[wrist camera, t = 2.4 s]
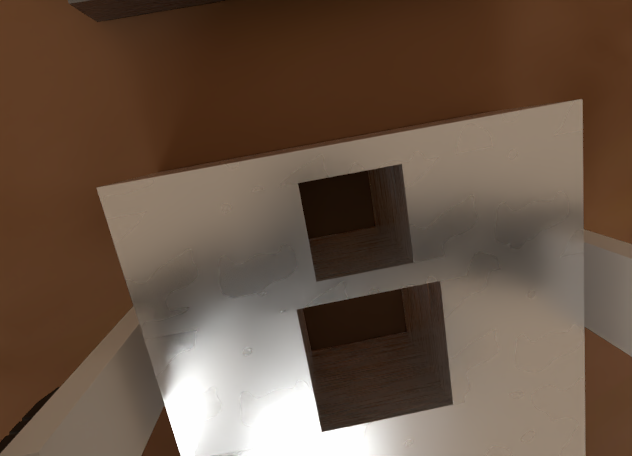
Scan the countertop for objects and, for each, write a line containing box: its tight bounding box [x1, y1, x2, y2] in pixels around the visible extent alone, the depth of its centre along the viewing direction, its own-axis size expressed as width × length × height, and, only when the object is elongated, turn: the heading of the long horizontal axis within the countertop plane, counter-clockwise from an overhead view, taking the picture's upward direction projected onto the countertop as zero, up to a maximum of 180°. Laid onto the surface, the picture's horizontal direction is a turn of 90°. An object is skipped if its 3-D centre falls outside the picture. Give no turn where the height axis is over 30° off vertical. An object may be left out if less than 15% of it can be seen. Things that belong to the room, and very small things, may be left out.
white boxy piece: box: [97, 99, 586, 456], centre depth 12 cm, size 11×11×4 cm
